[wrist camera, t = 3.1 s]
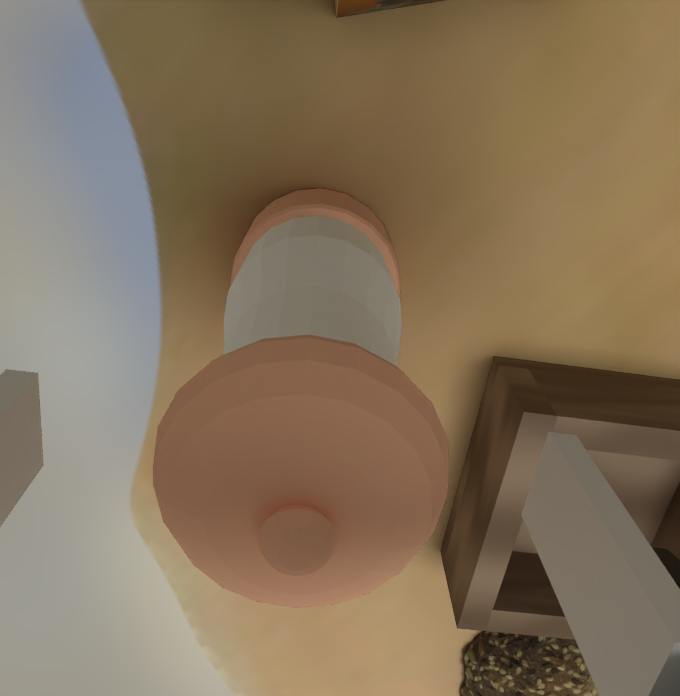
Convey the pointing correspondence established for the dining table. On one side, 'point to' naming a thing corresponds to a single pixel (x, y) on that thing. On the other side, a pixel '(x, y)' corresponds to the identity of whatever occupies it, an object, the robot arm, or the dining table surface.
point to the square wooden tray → (518, 471)
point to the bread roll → (525, 667)
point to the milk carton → (372, 5)
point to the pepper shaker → (305, 418)
